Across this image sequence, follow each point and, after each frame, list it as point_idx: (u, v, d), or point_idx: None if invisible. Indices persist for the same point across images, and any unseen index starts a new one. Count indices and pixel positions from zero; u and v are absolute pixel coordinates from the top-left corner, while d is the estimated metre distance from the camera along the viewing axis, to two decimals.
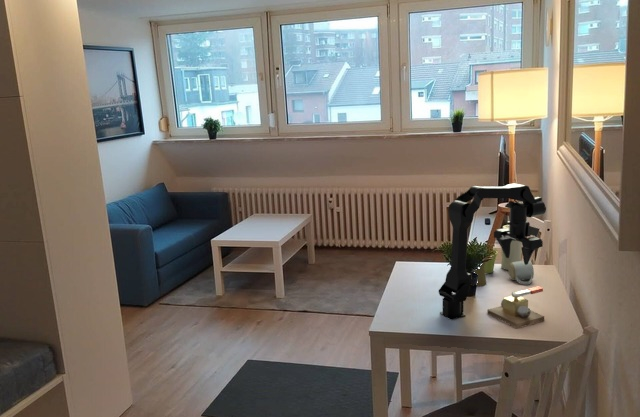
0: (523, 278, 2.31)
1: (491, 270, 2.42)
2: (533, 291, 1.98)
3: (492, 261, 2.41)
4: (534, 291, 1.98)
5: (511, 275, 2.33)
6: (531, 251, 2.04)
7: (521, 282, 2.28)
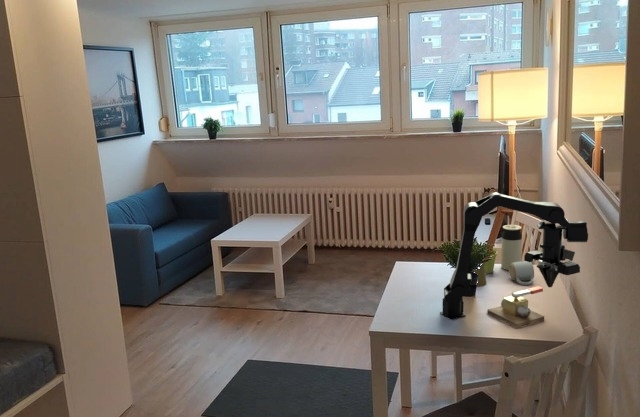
0: (523, 278, 2.30)
1: (491, 270, 2.42)
2: (533, 291, 1.98)
3: (492, 261, 2.41)
4: (534, 291, 1.98)
5: (511, 275, 2.32)
6: (556, 273, 1.91)
7: (521, 282, 2.27)
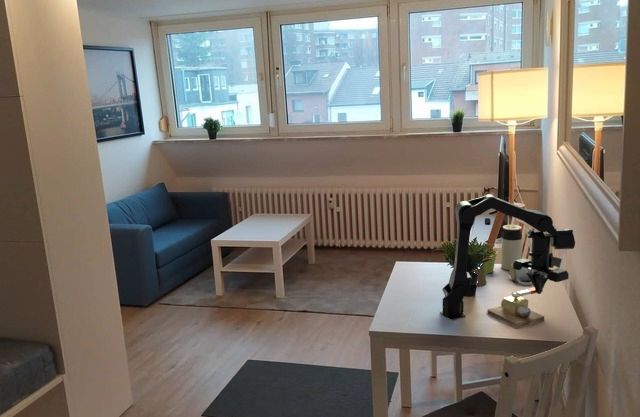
0: (524, 279, 2.30)
1: (491, 270, 2.42)
2: (533, 291, 1.98)
3: (492, 261, 2.41)
4: (534, 291, 1.98)
5: (512, 276, 2.32)
6: (545, 280, 1.96)
7: (522, 283, 2.27)
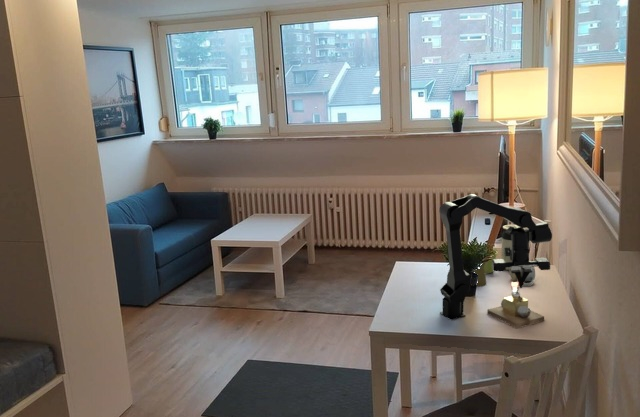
0: None
1: (491, 270, 2.42)
2: None
3: None
4: None
5: (512, 276, 2.31)
6: None
7: None
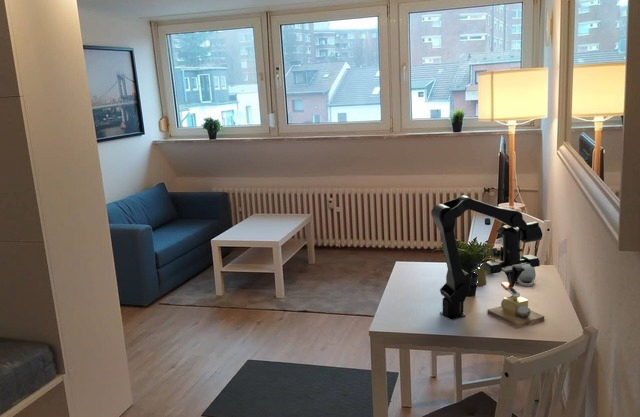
0: (525, 280, 2.29)
1: None
2: None
3: None
4: None
5: None
6: None
7: (523, 284, 2.26)
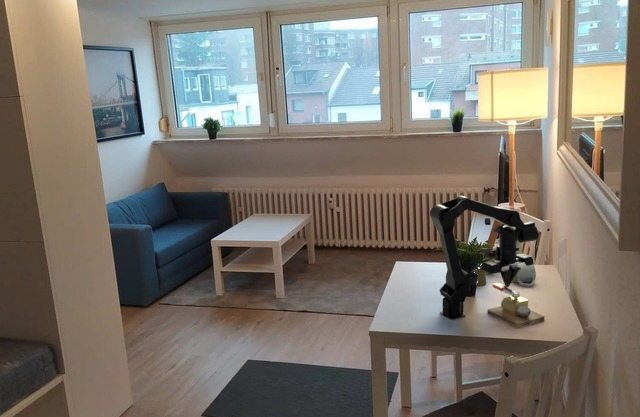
0: (525, 280, 2.29)
1: None
2: None
3: None
4: None
5: None
6: None
7: (523, 284, 2.25)
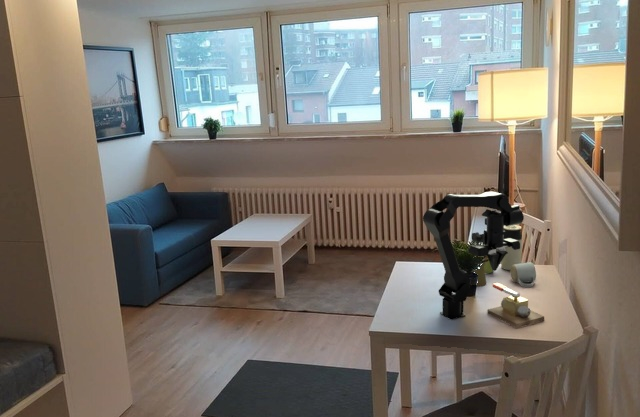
0: (525, 280, 2.28)
1: (491, 270, 2.42)
2: None
3: None
4: None
5: (513, 277, 2.30)
6: None
7: (523, 284, 2.25)
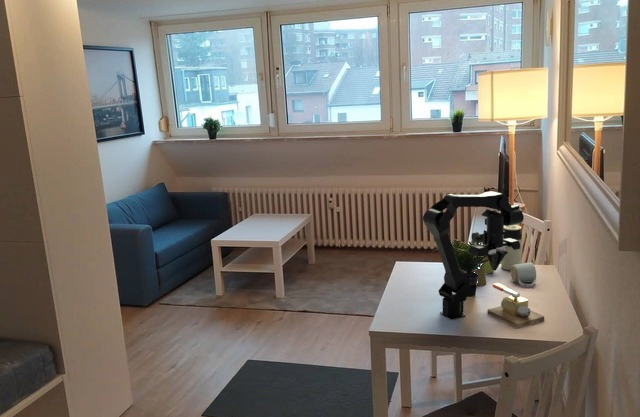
0: (525, 280, 2.28)
1: (491, 270, 2.42)
2: None
3: None
4: None
5: (513, 277, 2.30)
6: None
7: (523, 285, 2.25)
